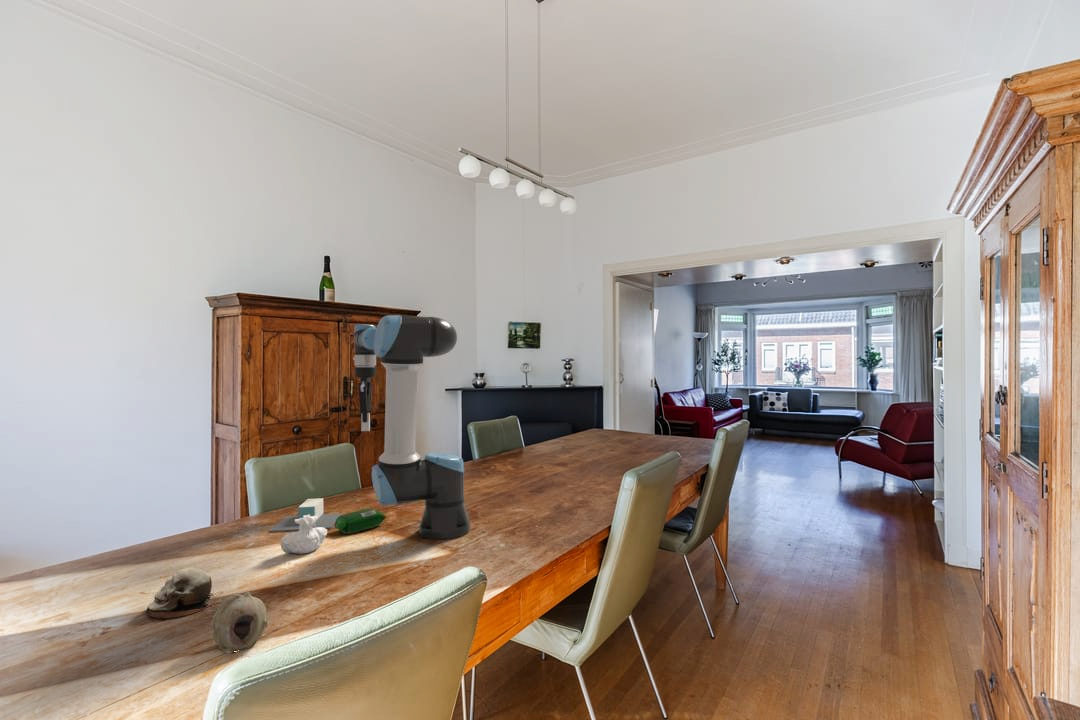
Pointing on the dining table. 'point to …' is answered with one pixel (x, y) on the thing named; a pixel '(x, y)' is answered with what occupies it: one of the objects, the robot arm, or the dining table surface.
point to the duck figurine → (304, 536)
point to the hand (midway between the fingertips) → (365, 430)
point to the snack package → (359, 521)
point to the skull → (182, 594)
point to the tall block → (311, 508)
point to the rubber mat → (290, 525)
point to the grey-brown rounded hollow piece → (239, 622)
